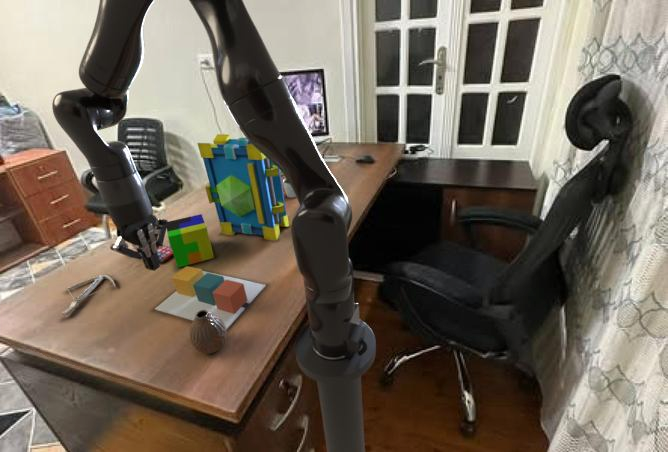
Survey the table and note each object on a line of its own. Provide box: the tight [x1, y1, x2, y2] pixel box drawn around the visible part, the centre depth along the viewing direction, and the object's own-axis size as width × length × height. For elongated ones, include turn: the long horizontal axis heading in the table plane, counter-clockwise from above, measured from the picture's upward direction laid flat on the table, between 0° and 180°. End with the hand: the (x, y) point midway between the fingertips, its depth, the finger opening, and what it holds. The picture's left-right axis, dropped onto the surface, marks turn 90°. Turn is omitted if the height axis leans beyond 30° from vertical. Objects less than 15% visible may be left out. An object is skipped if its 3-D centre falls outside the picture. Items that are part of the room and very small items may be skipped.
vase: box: [189, 310, 228, 355], centre depth 70 cm, size 7×7×9 cm
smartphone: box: [131, 244, 174, 264], centre depth 106 cm, size 7×1×15 cm
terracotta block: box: [212, 280, 247, 314], centre depth 81 cm, size 5×5×5 cm
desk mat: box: [154, 270, 267, 331], centre depth 86 cm, size 21×16×1 cm
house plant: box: [280, 170, 297, 199], centre depth 134 cm, size 14×14×16 cm
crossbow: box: [61, 274, 117, 318], centre depth 90 cm, size 16×13×2 cm
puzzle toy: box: [166, 213, 215, 269], centre depth 101 cm, size 10×10×10 cm
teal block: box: [193, 272, 225, 305], centre depth 84 cm, size 5×5×5 cm
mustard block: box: [171, 265, 204, 297], centre depth 87 cm, size 5×5×5 cm
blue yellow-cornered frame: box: [197, 133, 290, 242], centre depth 107 cm, size 14×23×30 cm, turn 70°
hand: (154, 268), depth 77 cm, fingers closed
